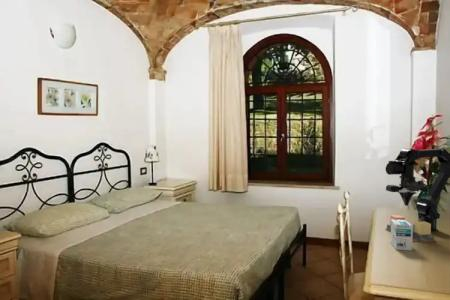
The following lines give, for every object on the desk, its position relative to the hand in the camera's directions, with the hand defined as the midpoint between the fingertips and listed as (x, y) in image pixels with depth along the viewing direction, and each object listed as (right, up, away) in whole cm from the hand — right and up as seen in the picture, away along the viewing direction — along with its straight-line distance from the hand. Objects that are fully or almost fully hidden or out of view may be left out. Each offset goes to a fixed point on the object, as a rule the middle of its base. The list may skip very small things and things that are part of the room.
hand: (406, 205), depth 190 cm
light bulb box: (-15, -14, -26) cm, 33 cm away
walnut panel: (-3, -13, -8) cm, 15 cm away
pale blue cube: (-4, -12, -9) cm, 15 cm away
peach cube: (-5, -10, -2) cm, 11 cm away
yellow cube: (0, -10, -15) cm, 18 cm away
